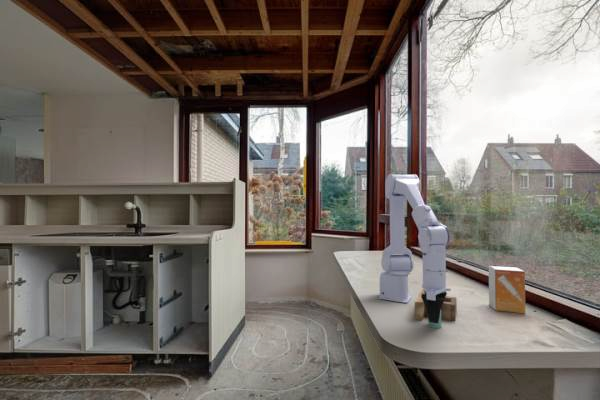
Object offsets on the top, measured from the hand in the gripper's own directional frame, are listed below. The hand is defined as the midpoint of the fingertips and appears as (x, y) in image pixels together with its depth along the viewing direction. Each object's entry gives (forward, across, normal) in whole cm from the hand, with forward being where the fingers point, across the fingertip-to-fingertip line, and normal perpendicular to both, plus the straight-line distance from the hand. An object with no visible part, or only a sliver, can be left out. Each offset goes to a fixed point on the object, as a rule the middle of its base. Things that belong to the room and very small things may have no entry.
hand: (434, 320), depth 77 cm
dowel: (+2, 0, 0) cm, 2 cm away
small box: (+2, +27, -18) cm, 32 cm away
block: (+2, +11, -1) cm, 11 cm away
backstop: (+2, +10, +4) cm, 11 cm away
